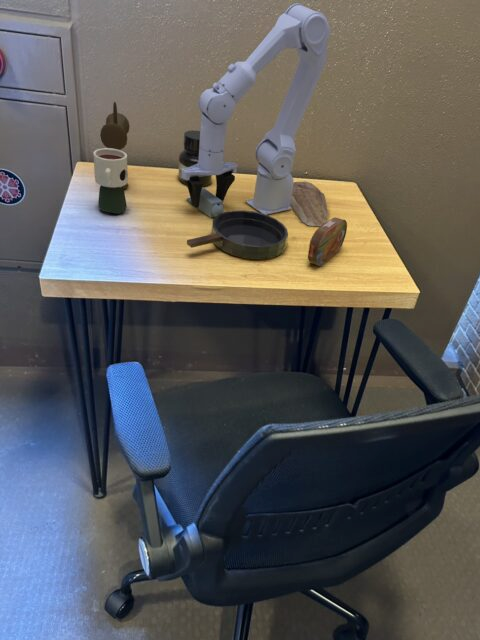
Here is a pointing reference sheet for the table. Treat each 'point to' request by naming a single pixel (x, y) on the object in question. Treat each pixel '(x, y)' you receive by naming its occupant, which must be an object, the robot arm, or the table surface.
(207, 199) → the grey flat-sided piece
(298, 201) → the fish fossil
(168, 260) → the table surface
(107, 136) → the kendama
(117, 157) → the character mug
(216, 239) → the pan handle
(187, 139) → the ink bottle
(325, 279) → the table surface
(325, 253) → the tin
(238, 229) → the pan
